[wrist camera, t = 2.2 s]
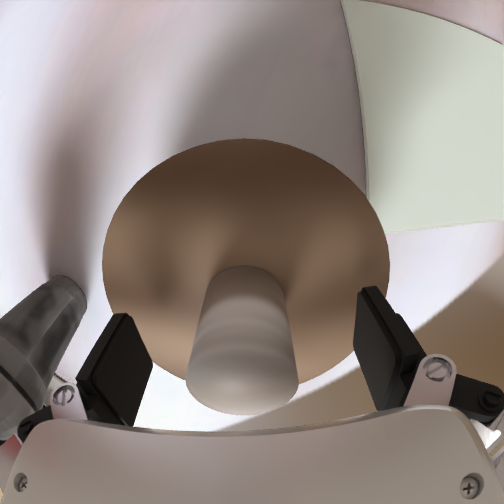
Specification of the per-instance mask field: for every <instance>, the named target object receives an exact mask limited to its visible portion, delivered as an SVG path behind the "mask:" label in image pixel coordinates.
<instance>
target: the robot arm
mask: <svg viewBox="0 0 504 504" xmlns="http://www.w3.org/2000/svg"><path fill="white" fill-rule="evenodd" d="M353 348H354V351H355V354H356V356H357V359H358V361H359V364H360V366H361V369H362V372H363V374H364V377H365V379H366V382H367V385H368V387H369V390H370V392H371V395H372V398H373V401H374V404H375V407H376V409H377V410H378V412H374V413H370V414H365V415H360V416H356V417H351V418H346V419H340V420H335V421H329V422H323V423H318V424H311V425H304V426H296V427H289V428H278V429H267V430H253V431H231V432H230V431H228V432H199V431H174V430H160V429H149V428H140V427H132V426H133V425H134V422H135V419H136V416H137V413H138V409H139V406H140V403H141V400H142V397H143V394H144V391H145V388H146V385H147V382H148V379H149V377H150V374H151V371H152V368H153V362H152V359H151V357H150V355H149V353H148V351H147V349H146V347H145V344H144V342H143V340H142V338H141V336H140V333H139V331H138V329H137V327H136V324H135V322H134V320H133V318H132V317H131V316H129V314H128V313H115V314H114V315H113V316H112V318H111V319H110V321H109V322H108V324H107V326H106V327H105V329H104V330H103V332H102V334H101V335H100V337H99V339H98V340H97V342H96V343H95V345H94V347H93V349H92V350H91V352H90V354H89V355H88V357H87V359H86V360H85V362H84V364H83V366H82V368H81V369H80V371H79V373H78V375H77V376H76V378H75V379H76V381H77V384H76V385H75V384H73V383H70V382H69V383H63V384H61V385H59V386H57V387H56V388H55V389H54V390H53V392H52V393H51V396H50V404H51V405H49V406H47V407H45V408H43V409H41V410H39V411H37V412H35V413H33V414H32V415H30V416H28V417H26V418H24V419H23V420H22V421H21V422H20V424H19V426H18V429H17V434H18V435H16V434H14V435H12V436H11V437H10V438H9V439H8V440H7V441H6V442H5V443H4V444H2V445H1V446H0V488H1V490H2V492H3V496H2V500H1V503H0V504H504V393H503V392H502V390H501V389H500V388H498V387H497V386H494V385H491V384H488V383H485V382H481V381H478V380H475V379H472V378H468V377H465V376H462V375H459V374H456V366H455V364H454V363H453V361H452V360H451V359H449V358H448V357H446V356H444V355H440V354H432V355H429V356H427V355H426V353H425V352H424V351H423V349H422V347H421V345H420V344H419V342H418V341H417V339H416V338H415V336H414V335H413V333H412V332H411V330H410V328H409V327H408V325H407V324H406V322H405V321H404V319H403V318H402V316H401V315H400V314H398V313H395V312H394V310H393V309H392V307H391V306H390V304H389V303H388V302H387V300H386V299H385V297H384V296H383V294H382V293H381V291H380V290H379V289H378V287H377V286H375V285H374V286H369V287H363V288H362V290H361V291H360V292H358V294H357V305H356V316H355V327H354V336H353Z"/></svg>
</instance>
